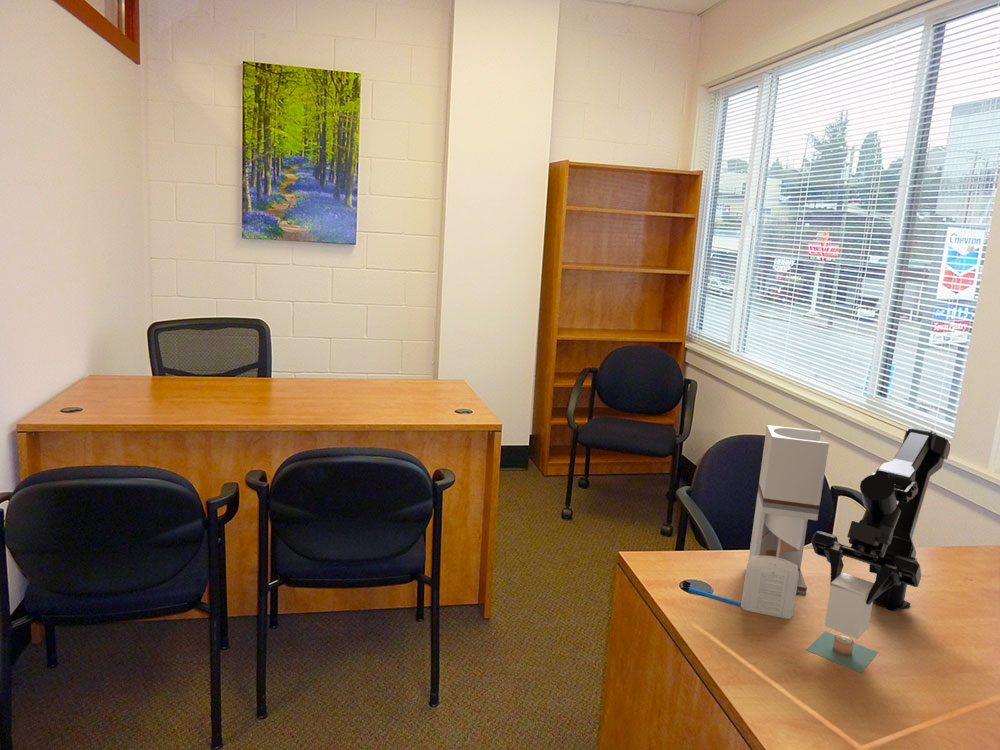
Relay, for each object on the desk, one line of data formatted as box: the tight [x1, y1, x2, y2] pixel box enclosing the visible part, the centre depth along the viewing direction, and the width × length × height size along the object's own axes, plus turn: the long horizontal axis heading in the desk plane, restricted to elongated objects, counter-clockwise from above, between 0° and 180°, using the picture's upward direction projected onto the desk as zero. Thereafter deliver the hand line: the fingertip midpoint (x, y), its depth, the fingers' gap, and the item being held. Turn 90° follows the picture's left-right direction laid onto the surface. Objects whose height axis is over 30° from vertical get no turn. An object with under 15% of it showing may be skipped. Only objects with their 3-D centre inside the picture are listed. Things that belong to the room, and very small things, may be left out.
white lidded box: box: [824, 572, 875, 640], centre depth 140 cm, size 6×6×9 cm
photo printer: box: [740, 556, 799, 619], centre depth 155 cm, size 10×4×12 cm, turn 72°
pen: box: [681, 586, 741, 607], centre depth 160 cm, size 1×19×1 cm, turn 59°
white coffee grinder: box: [747, 424, 830, 595], centre depth 167 cm, size 11×11×35 cm
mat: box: [805, 630, 879, 674], centre depth 142 cm, size 10×10×1 cm
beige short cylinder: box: [832, 634, 855, 656], centre depth 141 cm, size 3×3×2 cm
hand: (849, 597), depth 138 cm, fingers closed on white lidded box, 6 cm apart
